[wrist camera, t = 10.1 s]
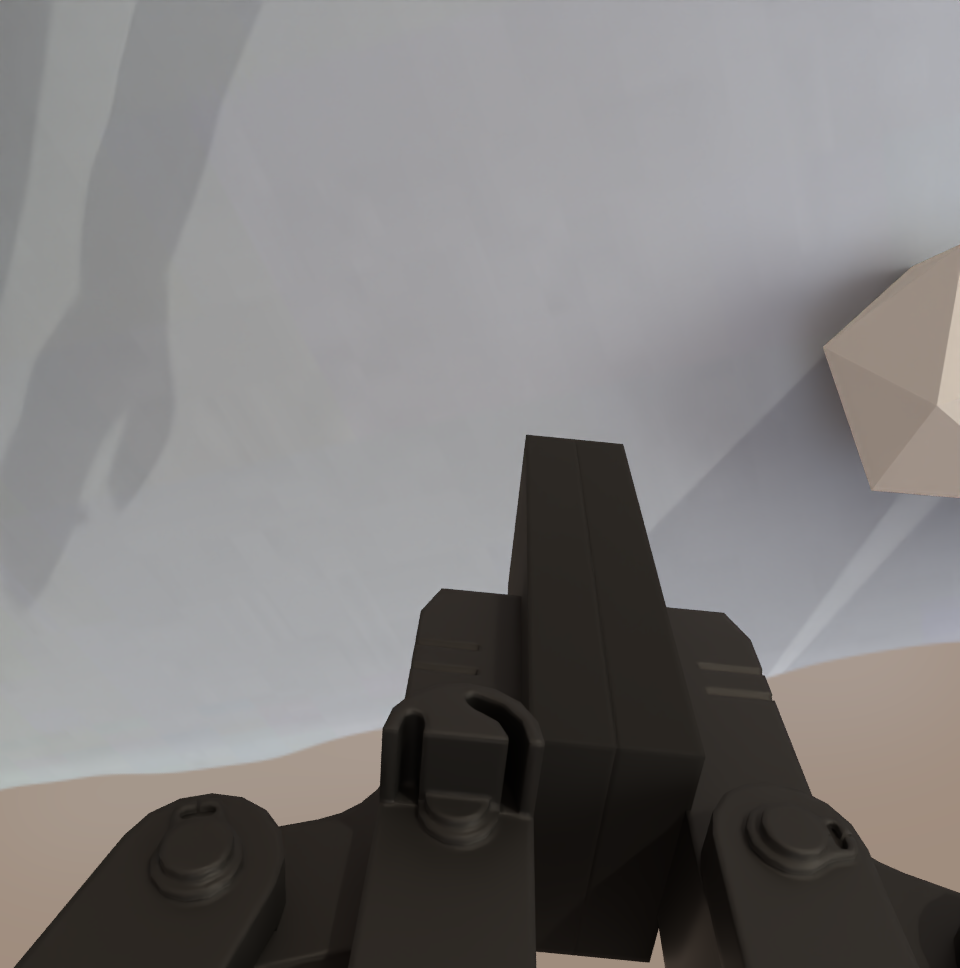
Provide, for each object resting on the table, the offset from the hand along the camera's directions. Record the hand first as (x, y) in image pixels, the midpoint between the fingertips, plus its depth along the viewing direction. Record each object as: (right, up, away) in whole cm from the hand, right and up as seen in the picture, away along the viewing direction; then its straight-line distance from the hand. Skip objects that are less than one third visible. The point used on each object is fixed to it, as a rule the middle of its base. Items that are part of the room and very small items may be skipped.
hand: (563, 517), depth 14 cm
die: (+16, +6, +19) cm, 25 cm away
